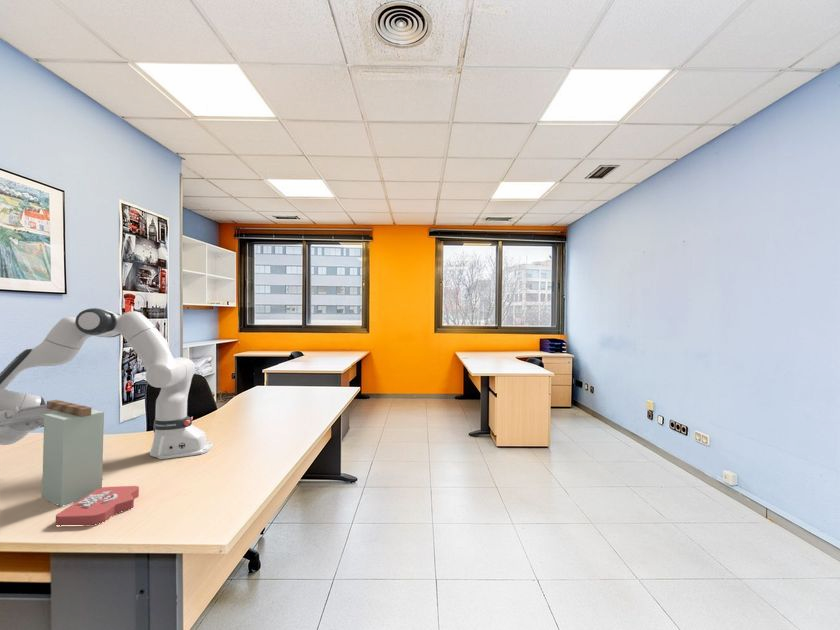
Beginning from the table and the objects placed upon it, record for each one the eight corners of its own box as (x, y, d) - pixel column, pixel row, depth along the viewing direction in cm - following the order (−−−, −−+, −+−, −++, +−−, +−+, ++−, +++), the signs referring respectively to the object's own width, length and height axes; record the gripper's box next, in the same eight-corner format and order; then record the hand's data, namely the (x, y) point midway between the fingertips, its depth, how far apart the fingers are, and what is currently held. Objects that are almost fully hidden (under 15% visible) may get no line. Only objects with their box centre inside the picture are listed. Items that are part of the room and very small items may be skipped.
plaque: (111, 512, 101) (51, 515, 99) (111, 526, 101) (51, 529, 99) (151, 483, 118) (100, 485, 117) (151, 495, 118) (100, 497, 117)
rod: (46, 408, 121) (46, 401, 121) (56, 406, 124) (56, 399, 124) (81, 417, 112) (81, 409, 112) (91, 415, 115) (91, 407, 115)
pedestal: (41, 498, 114) (44, 414, 114) (82, 485, 123) (84, 407, 123) (61, 507, 109) (63, 419, 109) (101, 492, 118) (103, 412, 118)
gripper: (-24, 419, 122) (-8, 403, 117) (57, 406, 141) (74, 392, 136) (-21, 437, 121) (-4, 421, 116) (60, 422, 139) (77, 408, 135)
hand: (38, 405), depth 126 cm, fingers open, 8 cm apart
